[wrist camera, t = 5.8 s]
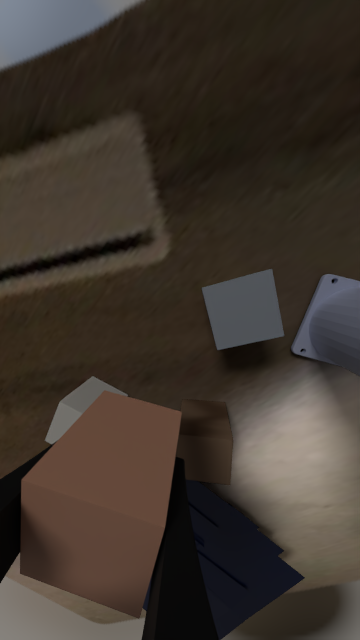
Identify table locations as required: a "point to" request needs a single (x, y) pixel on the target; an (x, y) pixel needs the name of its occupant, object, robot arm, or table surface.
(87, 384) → the offwhite cube
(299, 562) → the table surface
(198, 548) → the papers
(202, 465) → the walnut cube
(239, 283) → the slate cube
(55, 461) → the terracotta cube
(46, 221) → the table surface
